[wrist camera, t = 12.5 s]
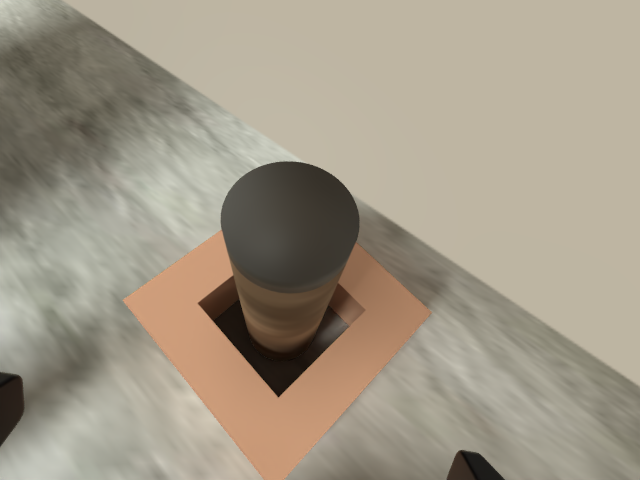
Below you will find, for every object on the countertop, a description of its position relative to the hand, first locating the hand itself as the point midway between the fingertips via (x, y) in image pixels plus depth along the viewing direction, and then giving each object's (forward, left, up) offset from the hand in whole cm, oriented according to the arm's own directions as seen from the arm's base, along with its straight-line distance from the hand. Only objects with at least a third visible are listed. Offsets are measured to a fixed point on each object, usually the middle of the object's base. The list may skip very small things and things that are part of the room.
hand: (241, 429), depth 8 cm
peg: (+4, +3, -14) cm, 15 cm away
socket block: (+4, +3, -14) cm, 15 cm away
